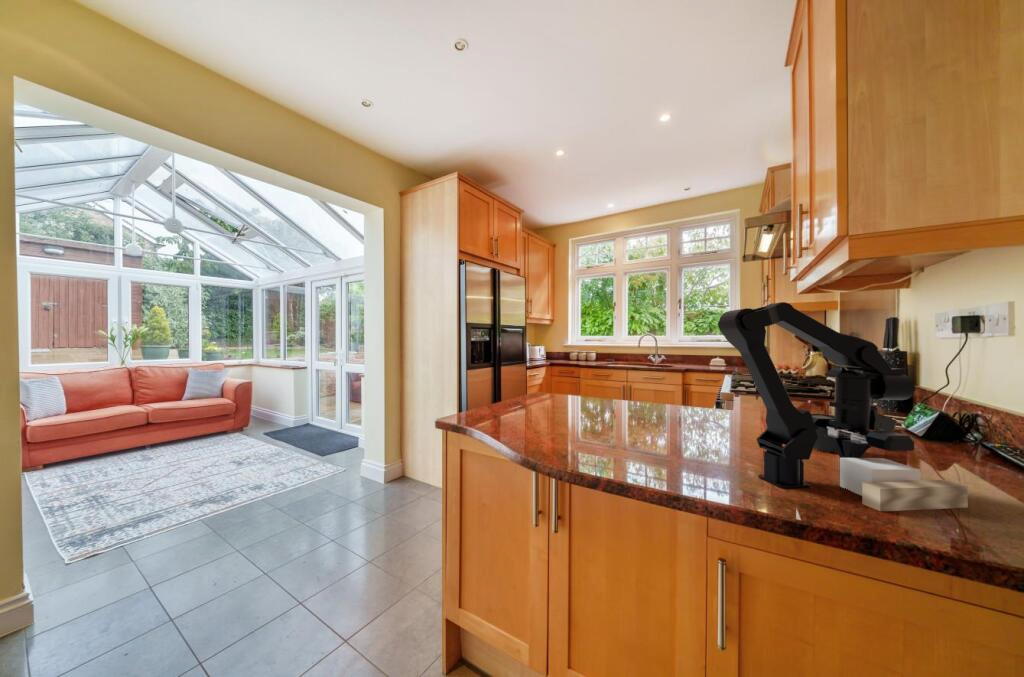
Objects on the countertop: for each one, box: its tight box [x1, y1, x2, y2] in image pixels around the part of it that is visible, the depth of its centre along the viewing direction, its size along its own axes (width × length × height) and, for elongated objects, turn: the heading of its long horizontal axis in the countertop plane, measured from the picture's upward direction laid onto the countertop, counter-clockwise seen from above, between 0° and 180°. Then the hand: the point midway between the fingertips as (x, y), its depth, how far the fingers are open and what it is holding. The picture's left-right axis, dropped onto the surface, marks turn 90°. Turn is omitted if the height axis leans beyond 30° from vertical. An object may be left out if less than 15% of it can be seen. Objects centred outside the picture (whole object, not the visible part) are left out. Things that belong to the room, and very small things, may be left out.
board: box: [861, 479, 969, 512], centre depth 67 cm, size 18×3×4 cm, turn 96°
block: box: [839, 457, 922, 497], centre depth 72 cm, size 9×7×6 cm
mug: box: [810, 413, 859, 454], centre depth 101 cm, size 8×12×10 cm
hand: (850, 470), depth 78 cm, fingers closed
